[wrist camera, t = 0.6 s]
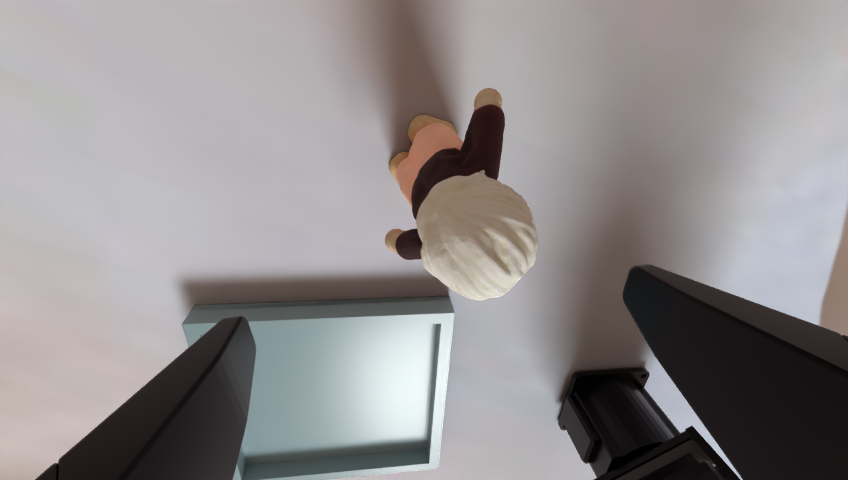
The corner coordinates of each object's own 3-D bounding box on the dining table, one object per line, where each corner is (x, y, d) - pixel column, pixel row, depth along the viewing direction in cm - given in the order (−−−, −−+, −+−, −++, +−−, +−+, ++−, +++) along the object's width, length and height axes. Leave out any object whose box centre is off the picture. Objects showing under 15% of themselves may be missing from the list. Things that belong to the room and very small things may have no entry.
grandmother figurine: (434, 218, 23) (497, 387, 11) (373, 199, 22) (375, 365, 10) (487, 88, 20) (644, 145, 8) (418, 60, 19) (492, 81, 7)
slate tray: (449, 296, 25) (454, 312, 24) (434, 447, 33) (438, 468, 31) (194, 305, 23) (181, 324, 22) (239, 465, 30) (232, 488, 29)
